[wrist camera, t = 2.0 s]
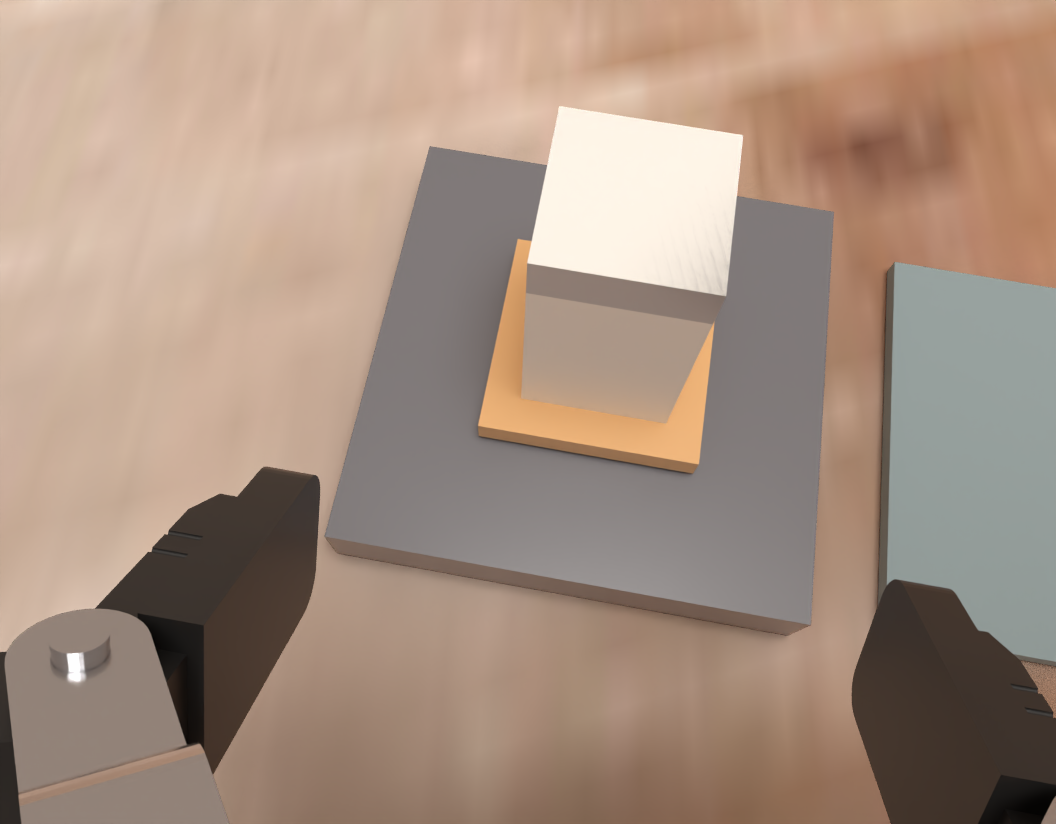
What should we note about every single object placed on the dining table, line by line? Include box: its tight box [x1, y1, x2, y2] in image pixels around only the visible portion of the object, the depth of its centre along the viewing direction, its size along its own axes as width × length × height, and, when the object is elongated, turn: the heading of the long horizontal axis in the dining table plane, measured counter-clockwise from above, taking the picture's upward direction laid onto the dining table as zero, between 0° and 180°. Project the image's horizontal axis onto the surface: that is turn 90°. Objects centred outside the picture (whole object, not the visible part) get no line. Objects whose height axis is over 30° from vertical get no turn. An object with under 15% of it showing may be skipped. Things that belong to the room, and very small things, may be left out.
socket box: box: [325, 146, 834, 636], centre depth 27 cm, size 13×13×2 cm
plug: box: [478, 106, 743, 474], centre depth 23 cm, size 6×6×10 cm
